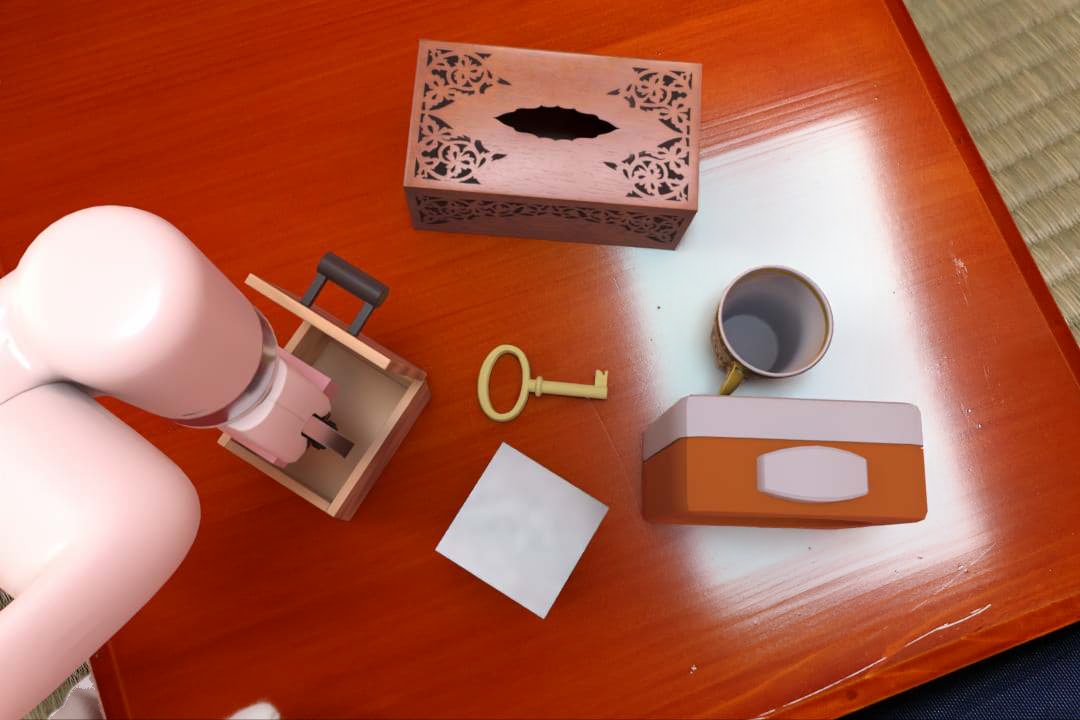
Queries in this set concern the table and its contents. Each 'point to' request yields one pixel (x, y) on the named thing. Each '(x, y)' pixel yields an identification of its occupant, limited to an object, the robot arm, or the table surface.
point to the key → (532, 385)
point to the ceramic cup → (770, 326)
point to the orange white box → (784, 463)
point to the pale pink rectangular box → (311, 374)
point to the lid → (348, 335)
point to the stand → (522, 530)
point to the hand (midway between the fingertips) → (283, 410)
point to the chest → (346, 425)
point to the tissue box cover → (553, 145)
